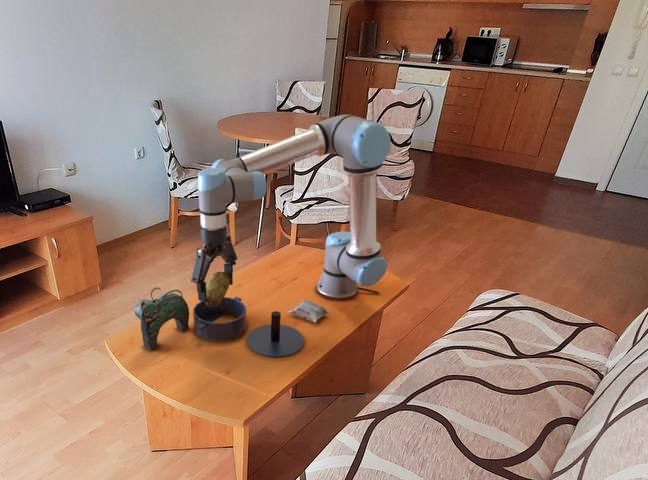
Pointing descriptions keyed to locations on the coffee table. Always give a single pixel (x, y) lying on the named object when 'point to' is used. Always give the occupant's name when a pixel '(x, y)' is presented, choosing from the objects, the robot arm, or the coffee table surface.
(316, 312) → the packaged food
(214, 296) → the potato
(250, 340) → the lid
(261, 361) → the coffee table surface
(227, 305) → the pot
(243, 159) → the robot arm
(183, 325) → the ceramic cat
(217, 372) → the coffee table surface
